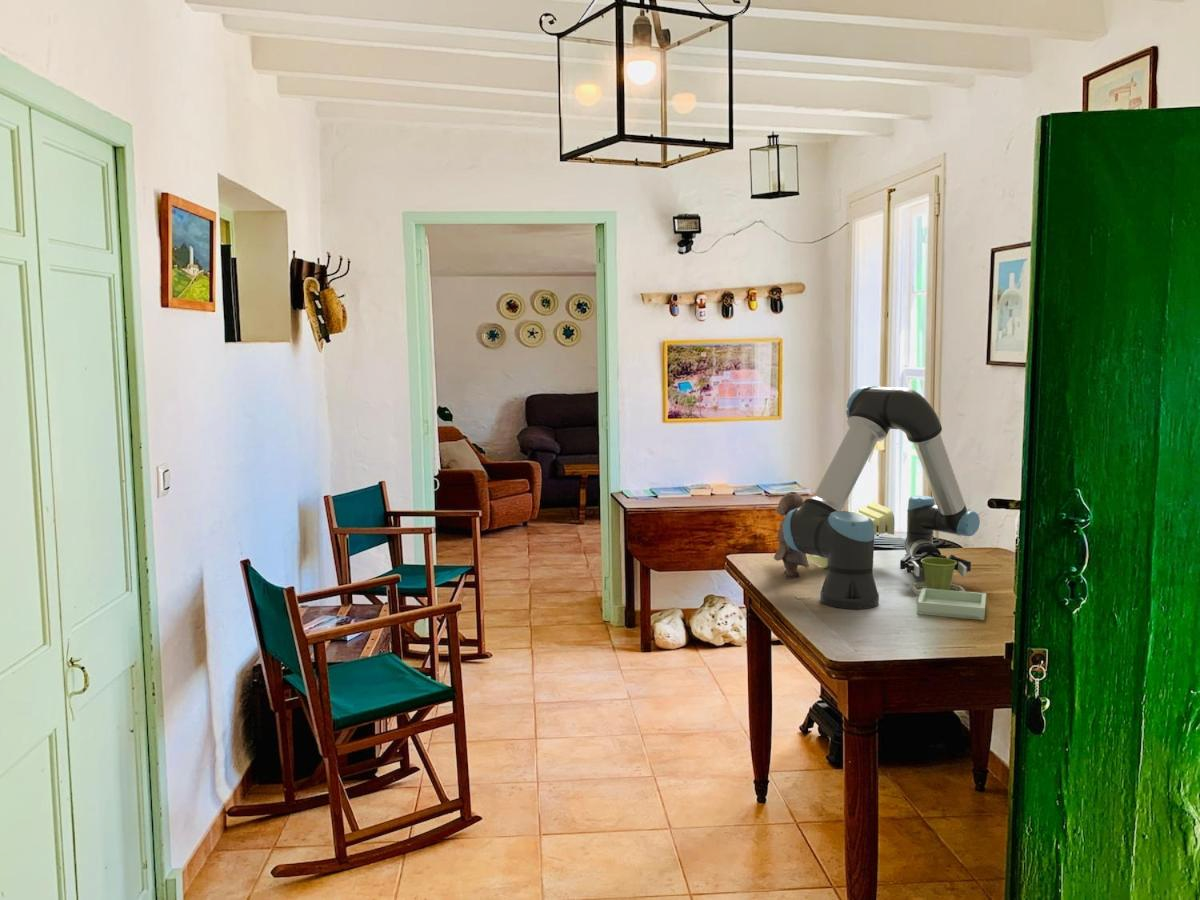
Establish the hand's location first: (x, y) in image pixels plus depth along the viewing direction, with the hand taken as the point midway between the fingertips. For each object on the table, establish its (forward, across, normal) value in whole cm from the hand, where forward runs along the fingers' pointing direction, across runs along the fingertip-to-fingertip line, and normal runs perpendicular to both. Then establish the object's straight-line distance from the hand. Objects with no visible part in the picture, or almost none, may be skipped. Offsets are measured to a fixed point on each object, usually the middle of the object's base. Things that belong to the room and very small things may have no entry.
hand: (941, 571), depth 280 cm
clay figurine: (-18, +39, -7) cm, 43 cm away
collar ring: (-4, 0, -6) cm, 8 cm away
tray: (+14, 0, -6) cm, 16 cm away
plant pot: (-4, 0, -7) cm, 8 cm away
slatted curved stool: (-36, +24, -7) cm, 44 cm away
